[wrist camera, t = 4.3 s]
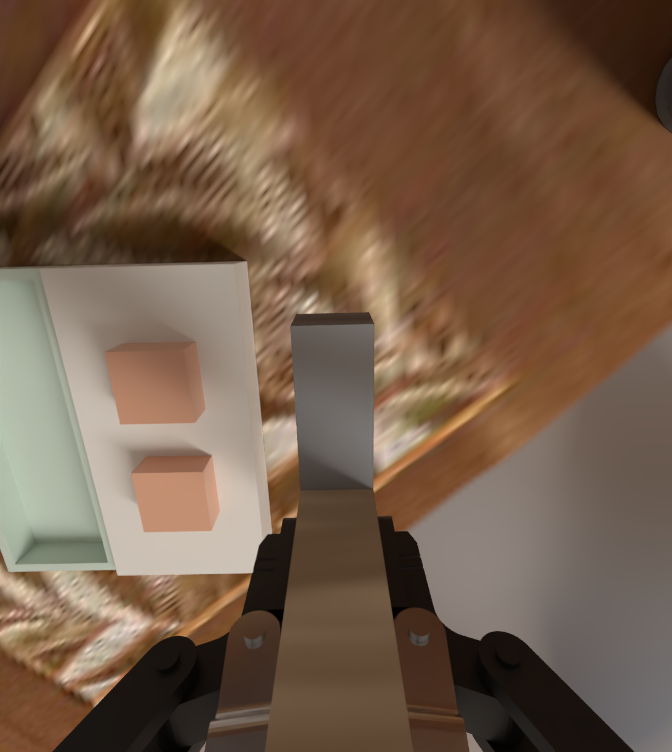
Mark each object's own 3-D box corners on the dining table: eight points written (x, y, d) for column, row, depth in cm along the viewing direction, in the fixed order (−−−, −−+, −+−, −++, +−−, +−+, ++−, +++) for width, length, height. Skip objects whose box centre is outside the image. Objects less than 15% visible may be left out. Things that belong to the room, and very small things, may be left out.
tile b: (145, 456, 24) (131, 473, 22) (212, 455, 24) (202, 472, 22) (157, 512, 25) (143, 532, 23) (219, 511, 25) (211, 530, 23)
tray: (-57, 268, 23) (-102, 271, 21) (72, 265, 23) (42, 268, 21) (35, 545, 30) (8, 571, 27) (136, 543, 30) (118, 569, 27)
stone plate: (75, 265, 23) (39, 268, 20) (246, 261, 23) (234, 263, 20) (138, 543, 30) (117, 575, 27) (272, 540, 29) (265, 572, 27)
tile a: (122, 343, 21) (104, 352, 20) (196, 341, 21) (183, 350, 20) (136, 410, 23) (120, 424, 21) (205, 409, 23) (194, 423, 21)
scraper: (296, 314, 14) (209, 480, 4) (369, 312, 14) (445, 475, 4) (313, 617, 18) (290, 1024, 9) (367, 616, 18) (403, 1022, 9)
